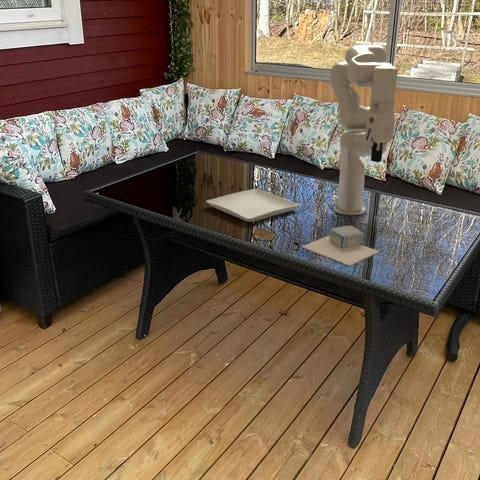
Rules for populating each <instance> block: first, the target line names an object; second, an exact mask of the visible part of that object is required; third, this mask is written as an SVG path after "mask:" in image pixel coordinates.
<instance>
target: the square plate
mask: <svg viewBox="0 0 480 480" xmlns="http://www.w3.org/2000/svg"><path fill="white" fill-rule="evenodd" d="M205 202H206V204H207V203H208V205H209V206H211V207H212V208H215V209H217V210H219V211H221V212H224V213H226V214H228V215H231V216H233V217H236V218H237V217H238V219H240V220H242V221H245V222H247V223H252V222H257V221H260V220H264V219H267V218H270V217H273V216H274V217H275V216H277V215H281V214H285V213H288V212H291V211H294V210H295V209H297V208H298V207H300V204H299V203H296V202H295V201H291V200H289V199H287V198H284V197H281V196H279V195H276V194H273V193H270V192H267V191H264V190H261V189H258V188H251V189H247V190H244V191H238V192H233V193H230V194H226V195H222V196H219V197H215V198H212V199H207V200H206V201H205Z"/></svg>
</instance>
